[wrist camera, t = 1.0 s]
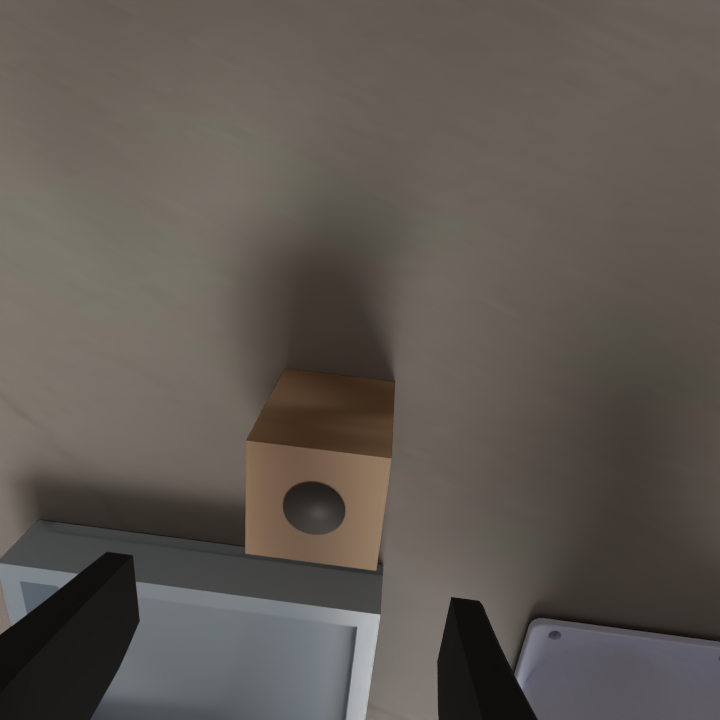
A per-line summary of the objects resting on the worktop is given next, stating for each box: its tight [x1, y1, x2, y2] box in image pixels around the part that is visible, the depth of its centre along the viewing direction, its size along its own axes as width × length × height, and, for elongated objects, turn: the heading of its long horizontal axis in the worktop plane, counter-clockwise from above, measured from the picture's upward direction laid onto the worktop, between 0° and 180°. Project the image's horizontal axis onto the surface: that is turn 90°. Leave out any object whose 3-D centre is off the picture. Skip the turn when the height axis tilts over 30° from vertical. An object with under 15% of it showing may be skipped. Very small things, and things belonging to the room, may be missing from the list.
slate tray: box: [0, 520, 383, 720], centre depth 23 cm, size 15×13×2 cm
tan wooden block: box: [245, 369, 395, 571], centre depth 17 cm, size 4×4×5 cm
